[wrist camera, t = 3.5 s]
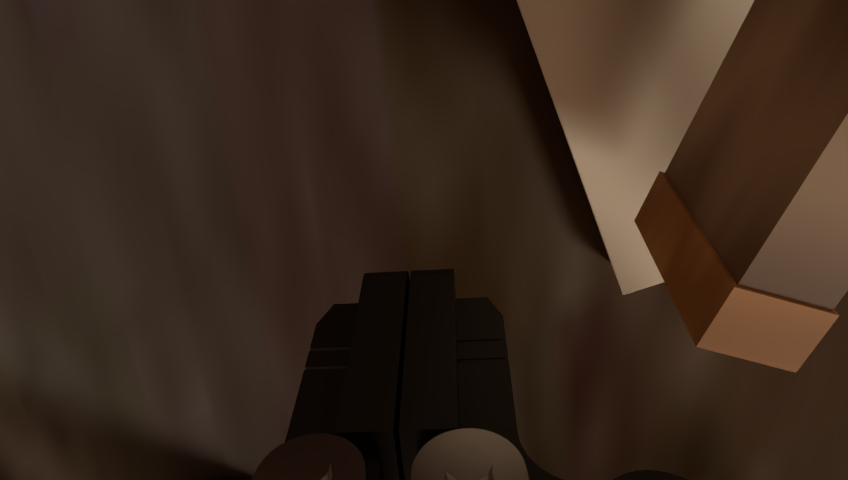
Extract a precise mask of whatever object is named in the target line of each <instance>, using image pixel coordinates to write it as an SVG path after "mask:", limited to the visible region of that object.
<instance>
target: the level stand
mask: <svg viewBox="0 0 848 480" xmlns="http://www.w3.org/2000/svg"><path fill="white" fill-rule="evenodd" d="M516 1H517V3H518V6H519V9H520V12H521V15H522V17H523V20H524V23H525V26H526V29H527V31H528V34H529V37H530V40H531V42H532V45H533V48H534V51H535V54H536V56H537V59H538V62H539V65H540V67H541V70H542V73H543V76H544V79H545V81H546V84H547V87H548V90H549V93H550V95H551V98H552V101H553V104H554V106H555V109H556V112H557V115H558V118H559V120H560V123H561V126H562V129H563V131H564V134H565V137H566V140H567V143H568V145H569V148H570V151H571V154H572V157H573V159H574V162H575V165H576V168H577V170H578V173H579V176H580V179H581V182H582V184H583V187H584V190H585V193H586V195H587V198H588V201H589V204H590V207H591V209H592V212H593V215H594V218H595V221H596V223H597V226H598V229H599V232H600V234H601V237H602V240H603V243H604V246H605V248H606V251H607V254H608V257H609V259H610V262H611V265H612V267H613V270H614V273H615V275H616V278H617V280H618V283H619V286H620V288H621V291H622V293H623V295H625V294H628V293H631V292H634V291H638V290H641V289H644V288H647V287H650V286H653V285H656V284H659V283H663V282H664V280H663V278H662V276H661V274H660V272H659V270H658V268H657V266H656V264H655V262H654V260H653V258H652V256H651V254H650V252H649V250H648V248H647V246H646V244H645V242H644V240H643V238H642V235H641V233H640V231H639V229H638V227H637V225H636V223H635V221H634V220H635V218H636V216H637V214H638V212H639V210H640V208H641V206H642V204H643V202H644V200H645V199H646V197H647V195H648V193H649V191H650V189H651V187H652V185H653V183H654V181H655V179H656V177H657V175H658V173H659V171H661V172H666V170H667V168H668V166H669V164H670V162H671V160H672V158H673V156H674V154H675V152H676V150H677V148H678V147H679V145H680V143H681V141H682V139H683V137H684V135H685V133H686V131H687V129H688V127H689V125H690V123H691V122H692V120H693V118H694V116H695V114H696V112H697V110H698V108H699V106H700V104H701V102H702V100H703V98H704V96H705V95H706V93H707V91H708V89H709V87H710V85H711V83H712V81H713V79H714V77H715V75H716V73H717V71H718V70H719V68H720V66H721V64H722V62H723V60H724V58H725V56H726V54H727V52H728V50H729V48H730V46H731V45H732V43H733V41H734V39H735V37H736V35H737V33H738V31H739V29H740V27H741V25H742V23H743V21H744V20H745V18H746V16H747V14H748V12H749V10H750V8H751V6H752V4H753V2H754V0H516Z"/></svg>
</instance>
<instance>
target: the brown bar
mask: <svg viewBox="0 0 848 480" xmlns="http://www.w3.org/2000/svg"><path fill="white" fill-rule="evenodd" d="M634 221H635V223H636V225H637V227H638V229H639V231H640V233H641V235H642V238H643V240H644V242H645V244H646V246H647V248H648V250H649V252H650V254H651V256H652V258H653V260H654V262H655V264H656V266H657V268H658V270H659V272H660V274H661V276H662V278H663V280H664V282H665V284H666V286H667V288H668V290H669V292H670V294H671V296H672V299H673V301H674V303H675V305H676V307H677V309H678V311H679V313H680V315H681V317H682V319H683V321H684V323H685V325H686V327H687V329H688V331H689V333H690V335H691V337H692V339H693V341H694V343H695V345H696V347H699V348H703V349H707V350H711V351H714V352H718V353H722V354H726V355H730V356H734V357H738V358H741V359H745V360H749V361H753V362H757V363H761V364H765V365H768V366H772V367H776V368H780V369H784V370H788V371H792V372H795V373H796V372H797V371H798V369H799V368H800V367H801V365H802V364H803V363H804V361H805V360H806V359H807V358H808V356H809V355H810V354H811V352H812V351H813V350H814V348H815V347H816V346H817V344H818V343H819V342H820V340H821V339H822V338H823V336H824V335H825V334H826V332H827V331H828V330H829V329H830V327H831V326H832V325H833V323H834V322H835V321H836V319H837V318H838V317H839V314H838V313H837V312H836V311H835V310H834V308H835V307H836V305H837V304H838V303H839V301H840V300H841V299H842V297H843V296H844V295H845V293H846V292H847V291H848V0H754V2H753V4H752V6H751V8H750V10H749V12H748V14H747V16H746V18H745V20H744V21H743V23H742V25H741V27H740V29H739V31H738V33H737V35H736V37H735V39H734V41H733V43H732V45H731V46H730V48H729V50H728V52H727V54H726V56H725V58H724V60H723V62H722V64H721V66H720V68H719V70H718V71H717V73H716V75H715V77H714V79H713V81H712V83H711V85H710V87H709V89H708V91H707V93H706V95H705V96H704V98H703V100H702V102H701V104H700V106H699V108H698V110H697V112H696V114H695V116H694V118H693V120H692V122H691V123H690V125H689V127H688V129H687V131H686V133H685V135H684V137H683V139H682V141H681V143H680V145H679V147H678V148H677V150H676V152H675V154H674V156H673V158H672V160H671V162H670V164H669V166H668V168H667V170H666V172H661V171H659V173H658V175H657V177H656V179H655V181H654V183H653V185H652V187H651V189H650V191H649V193H648V195H647V197H646V199H645V200H644V202H643V204H642V206H641V208H640V210H639V212H638V214H637V216H636V218H635V220H634Z"/></svg>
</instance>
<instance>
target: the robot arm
mask: <svg viewBox="0 0 848 480" xmlns="http://www.w3.org/2000/svg"><path fill="white" fill-rule="evenodd" d="M310 347H311V351H309V354H308V358H307V362H306V365H305V366H306V370H304V373H303V377H302V380H301V384H300V388H299V392H298V395H297V399H296V403H295V407H294V410H293V414H292V418H291V422H290V425H289V429H288V433H287V437H286V440H285V442H284V443H283V444H281V445H279V446H278V447H276V448H275V449H274V450H272V451H271V452H270V453H269V454H268V455H267V456H266V457H265V458H264V459H263V460H262V462H261V463H260V464H259V466H258V467H257V469H256V471H255V473H254V476H253V478H252V480H562V479H559V478H557V477H555V476H553V475H551V474H549V473H548V472H546V471H544V470H543V469H541V468H540V467H539V466H538V465H536V464H535V463H534V462H533V461H532V460H531V459H530V458H529V457H528V455H527V454H526V452H525V451H524V449H523V448H522V445H521V443H520V441H519V437H518V432H517V424H516V416H515V408H514V400H513V392H512V385H511V377H510V369H509V362H508V353H507V345H506V338H505V330H504V322H503V316H502V315H501V313H500V312H499V311H498V310H497V308H496V307H495V306H494V305H493V304H492V302H491V301H490V300H489V299H488V297H484V298H462V299H456V288H455V272H454V269H440V270H419V271H411V275H410V278H409V273H408V271H401V272H380V273H365V274H364V276H363V281H362V287H361V292H360V297H359V303H354V304H334V305H333V306H332V307H331V308H330V310H329V311H328V312H327V313H326V314H325V315H324V316H323V317H322V319H321V320H320V321H319V322H318V323H317V324H316V328H315V331H314V335H313V339H312V343H311V346H310ZM614 480H686V479H684V478H682V477H679V476H676V475H673V474H670V473H666V472H661V471H653V470H642V471H634V472H629V473H626V474H623V475H621V476H619V477H617V478H615V479H614Z"/></svg>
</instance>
